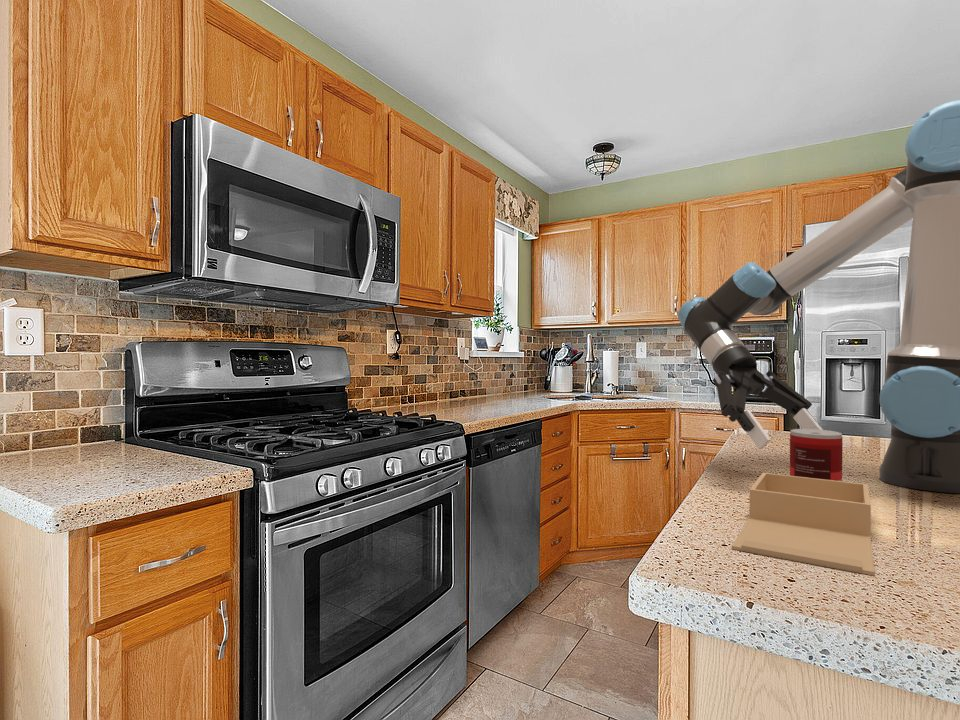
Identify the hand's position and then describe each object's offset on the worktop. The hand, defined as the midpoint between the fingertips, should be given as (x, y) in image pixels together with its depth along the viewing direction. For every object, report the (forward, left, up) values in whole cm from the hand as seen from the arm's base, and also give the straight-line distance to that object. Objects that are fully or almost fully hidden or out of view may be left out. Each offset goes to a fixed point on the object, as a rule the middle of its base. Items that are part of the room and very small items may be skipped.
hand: (794, 442), depth 96 cm
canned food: (-2, +3, -9) cm, 10 cm away
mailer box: (+11, +22, -9) cm, 26 cm away
